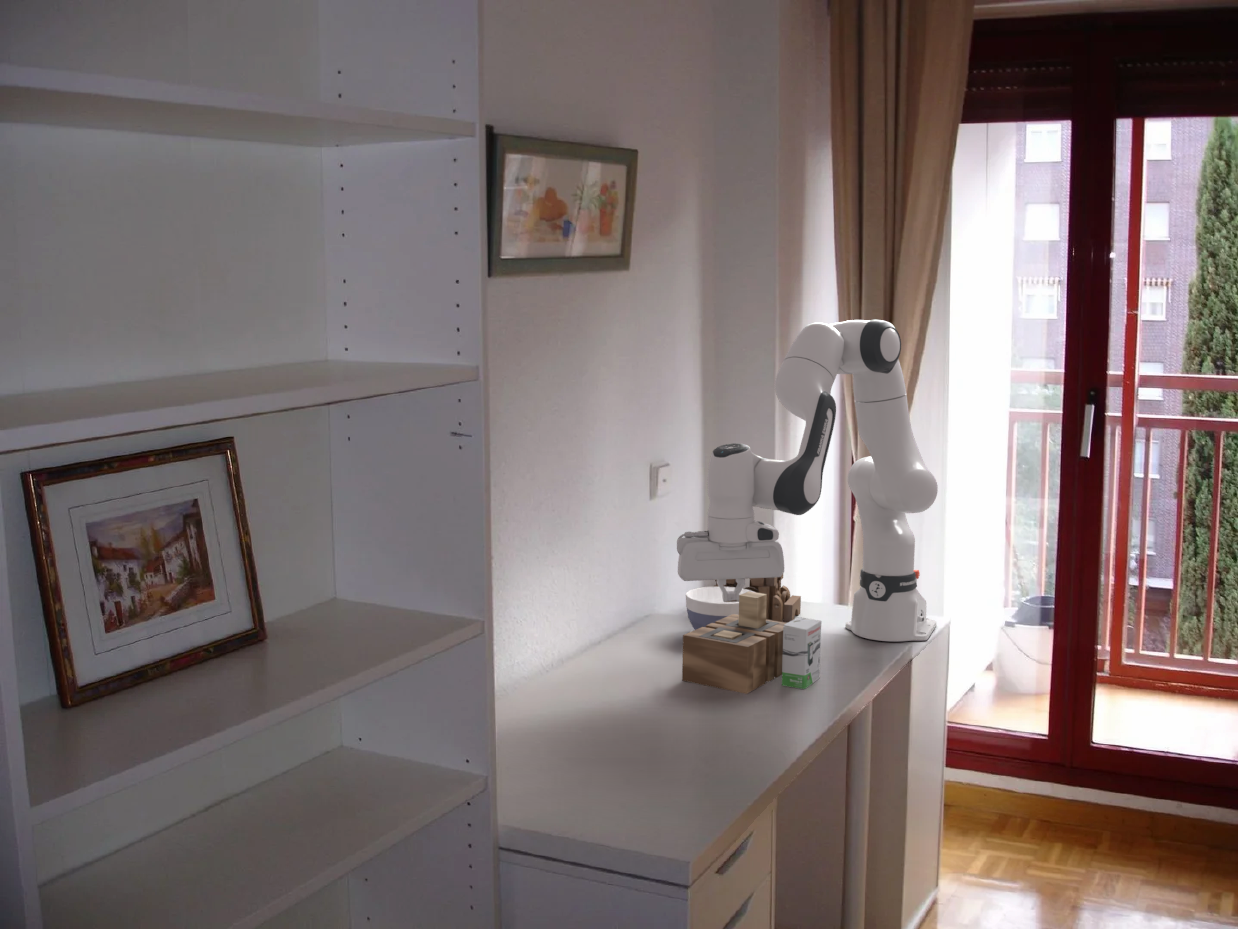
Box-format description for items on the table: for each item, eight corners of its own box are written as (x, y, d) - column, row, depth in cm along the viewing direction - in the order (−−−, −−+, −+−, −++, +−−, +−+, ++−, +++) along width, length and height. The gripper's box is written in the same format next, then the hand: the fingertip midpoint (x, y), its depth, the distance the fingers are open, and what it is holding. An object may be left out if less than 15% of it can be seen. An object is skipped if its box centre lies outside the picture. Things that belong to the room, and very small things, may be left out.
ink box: (804, 690, 230) (806, 629, 229) (780, 686, 233) (781, 625, 231) (820, 678, 238) (822, 619, 236) (796, 674, 240) (798, 615, 239)
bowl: (700, 625, 277) (701, 583, 275) (767, 633, 270) (769, 591, 269) (673, 642, 262) (674, 598, 261) (744, 651, 256) (745, 606, 255)
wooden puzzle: (802, 611, 290) (804, 534, 288) (789, 626, 277) (791, 545, 274) (712, 603, 298) (714, 528, 295) (695, 617, 284) (697, 538, 282)
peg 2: (747, 633, 246) (748, 591, 245) (765, 636, 244) (766, 594, 242) (738, 638, 242) (739, 595, 241) (756, 641, 240) (757, 598, 239)
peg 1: (722, 673, 238) (723, 630, 237) (740, 677, 236) (741, 633, 235) (712, 678, 235) (713, 634, 234) (730, 682, 233) (731, 637, 232)
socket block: (732, 656, 252) (733, 613, 251) (794, 668, 244) (795, 624, 243) (682, 680, 235) (682, 634, 234) (746, 694, 228) (747, 646, 226)
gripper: (679, 535, 227) (680, 607, 229) (786, 531, 230) (786, 603, 232) (673, 529, 234) (674, 599, 235) (778, 525, 236) (778, 595, 238)
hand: (730, 601), depth 234 cm, fingers closed
